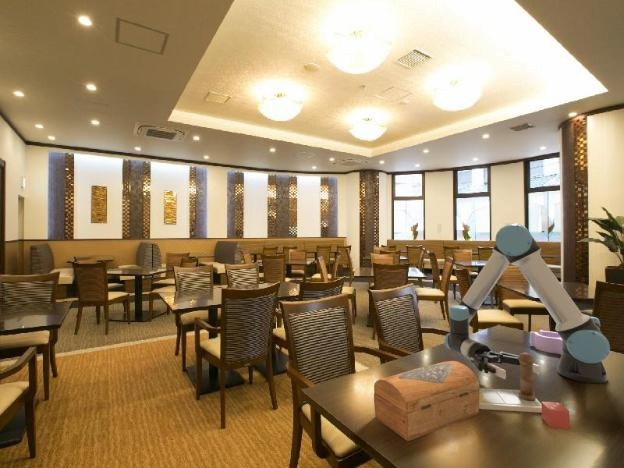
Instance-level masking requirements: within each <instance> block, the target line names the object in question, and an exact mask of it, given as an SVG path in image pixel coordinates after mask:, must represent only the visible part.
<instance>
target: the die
mask: <svg viewBox="0 0 624 468" xmlns="http://www.w3.org/2000/svg"><path fill="white" fill-rule="evenodd" d="M541 404H542V413H541V419H542V420H543V421H544V422H545V423H546V425H548V427H550V428H554V429H555V428H556V429H567V430H568V429H571V428H570V427H571V426H570V425H571V424H570V410H569V409H568V408H566V406H564V405H563V404H562V403H561V402H556V401H555V402H554V401H541Z"/></svg>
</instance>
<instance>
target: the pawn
mask: <svg viewBox="0 0 624 468" xmlns="http://www.w3.org/2000/svg"><path fill="white" fill-rule="evenodd" d="M518 356H519V357H518V360H519V362H520V365H519V382H520V383H519V385H520V389H518V390H519V391H518V397H519V398H521V399H523V400H526V401H535V400H536V399H537V397H536V393H535V392H534V372H533V363H534V364H535V358H534V356H533V355H532V354H531V353H528V352H525V351H524V352H521V353H519V355H518Z"/></svg>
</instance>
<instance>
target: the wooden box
mask: <svg viewBox="0 0 624 468" xmlns="http://www.w3.org/2000/svg"><path fill="white" fill-rule="evenodd" d="M480 388H481V384H480V380H479V379H478V377H477V376H476V374H475V373H474V372H473V370H472V369H471V368H469V366H467V365H466V364H464V363H462V362H459V361H456V360H450V361H448V360H447V361H442V362H438V363H434V364H430V365H426V366H422V367H417V368H414V369H411V370H407V371H405V372H400V373H397V374H394V375H390V376H386V377H383V378H380V379H378V380H376V381H375V382H374V385H373V404H374V405H373V406H374V415H375V418H376V419H377V420H378V421H379V422H381V423H382V424H383V425H384V426H385V427H388V428H389V429H390V430H392V432H393V433H396V434H397V435H398V436H400V437H401V438H402V439H404V440H405V441H406V442H410V441H413V440H415V439H418V438H420V437H423V436H425V435H428V434H430V433H432V432H436V431H438V430H441V429H444V428H445V427H448V426H451V425H453V424H456V423H459V422H461V421H464V420H466V419H468V418H471V417H473V416H477V415H478V414H479V412H480V409H479V389H480Z"/></svg>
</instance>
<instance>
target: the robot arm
mask: <svg viewBox="0 0 624 468" xmlns="http://www.w3.org/2000/svg"><path fill="white" fill-rule="evenodd" d="M541 251H542V248H541V247H540V245H539V243H538V242H537V241H536V240H535V239H534V237H533V235H532V233H531V232H530V230H529V229H528V228H527V227H525V225H524V226H523V225H521V224H519V223H509V224H506V225H503V226H502V227H501V228H500V229H499V230H498V231H497V233H496V235H495V244H494V245H493V247H492V253H491V255H490V257H489V258H488V260H487V261H486V263H485V264H484V265H483V267H482V268H481V270H480V272H479V273H478V275H477V276H476V278H475V279H474V281H473V283H472V284H471V286H470V287H469V289H468V290H467V291H466V293H465V294H464V296H463V298H462V300H461V301H460V302H459V304H458V305H457V304H456V305H451V306H450V307H449V311H448V316H449V317H448V318H449V321H448V322H449V332H448V333H447V334H446V336H445V337H444V345H445V347H446V348H447V349H449V350H450V351H452V352H453V353H456V354H458V355H460V356H463V357H464V358H466V359H469V360H470V362H471V363H473V364H474V366H475V368H476V369H477V370H478V371H479V372H483V373H484V374H489V373H491V374H493V375H495V376H496V377H499V378H501V379H503V380H506V379H507V374H506V373H507V372H506V370H505V369H503V368H502V367H499V366H497V365H495V363H496V364H500V365H501V364H502V365H503V364H509V365H513V366H520V362H519V360H518V357H519V355H517V354H514V353H508V352H505V351H502V350H498V351H497V352H496V351H493V350H491V348H490V347H489V346H488V345H486V344H484V343H482V342H479V341H477V340H474V339H472V338H470V324H471V323H470V322H471V321H472V319H473V318H474V316H475V315H476V313H477V312H478V310H479V308H480V307H481V306H482V304H483V303H484V302H485V300H486V298H487V297H488V296H489V294H490V293H491V291H492V290H493V288H494V287H495V286H496V284H497V282H498V281H499V280H500V278H501V277H502V275H503V274H504V272H505V271H506V270H507V268H508V266H509V265H512V266H513V265H514V266H516V267H518V270H520V271H519V272H520V273H521V274H522V276H523V277H524V278H525V280H526V281H527V283H528V284H529V285H530V287H531V288H532V290H533V291H534V292H535V294H536V296H537V297H538V299H539V300H540V301H541V303H542V304H543V306H544V307H545V309H546V310H547V311H548V313H549V314H550V316H551V318H552V319H553V320H554V322H555V323H556V324H555V328H554V330H555V332H557V333H558V334H559V336H560V337H561V339H562V349H563V350H562V351H563V352H562V355H561V356H560V358H559V361H558V363H557V373H558V374H560V375H561V376H563V377H565V378H567V379H569V380H574V381H577V382H582V383H587V384H603V383H606V382H607V381H608V373H607V371H606V368H605V366H604V364H603V361H605V360H606V359H607V357H608V356H609V354H610V352H611V347H610V341H609V339H608V338H607V337H606V336H605V335H604V334H603V332H602V331H601V322H600V319H599V318H598V317H595V316H590V315H588V314H584V313H582V312H581V310H580V309H579V307H578V306H577V305H576V303H575V302H574V300H573V299H572V297H571V296H570V295H569V294H568V292H567V290H566V289H565V288H564V287H563V284H561V282H560V281H559V280H558V277H556V275H555V274H554V272H553V271H552V270H551V268H550V266H548V264H547V263H546V262H545V259H544V258H543V257H542V256H541ZM533 374H537V375H539V374H540V365H539V364H536V363H535V362H534V363H533Z"/></svg>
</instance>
